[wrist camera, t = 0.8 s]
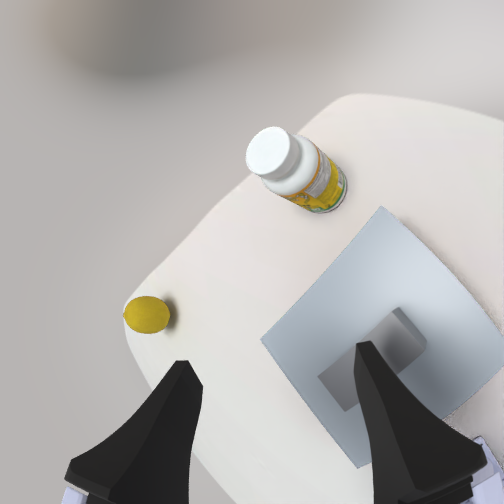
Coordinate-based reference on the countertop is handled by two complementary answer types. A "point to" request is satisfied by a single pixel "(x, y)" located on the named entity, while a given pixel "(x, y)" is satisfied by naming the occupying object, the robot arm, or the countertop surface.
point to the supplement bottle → (296, 170)
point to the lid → (384, 331)
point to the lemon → (147, 314)
